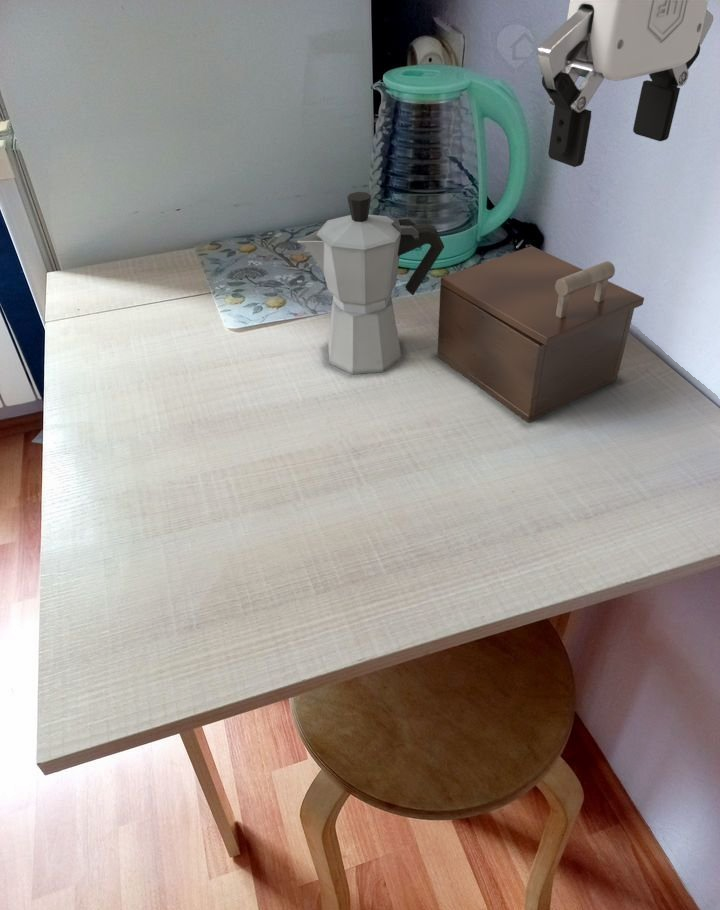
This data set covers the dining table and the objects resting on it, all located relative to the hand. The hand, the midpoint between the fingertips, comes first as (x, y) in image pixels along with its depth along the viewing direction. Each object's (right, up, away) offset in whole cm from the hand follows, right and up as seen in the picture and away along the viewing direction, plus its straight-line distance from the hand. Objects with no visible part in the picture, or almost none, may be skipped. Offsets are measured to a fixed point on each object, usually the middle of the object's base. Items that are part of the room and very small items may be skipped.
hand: (608, 148), depth 57 cm
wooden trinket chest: (-2, -15, +20) cm, 25 cm away
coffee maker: (-19, -13, +23) cm, 32 cm away
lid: (-2, -9, +13) cm, 16 cm away
